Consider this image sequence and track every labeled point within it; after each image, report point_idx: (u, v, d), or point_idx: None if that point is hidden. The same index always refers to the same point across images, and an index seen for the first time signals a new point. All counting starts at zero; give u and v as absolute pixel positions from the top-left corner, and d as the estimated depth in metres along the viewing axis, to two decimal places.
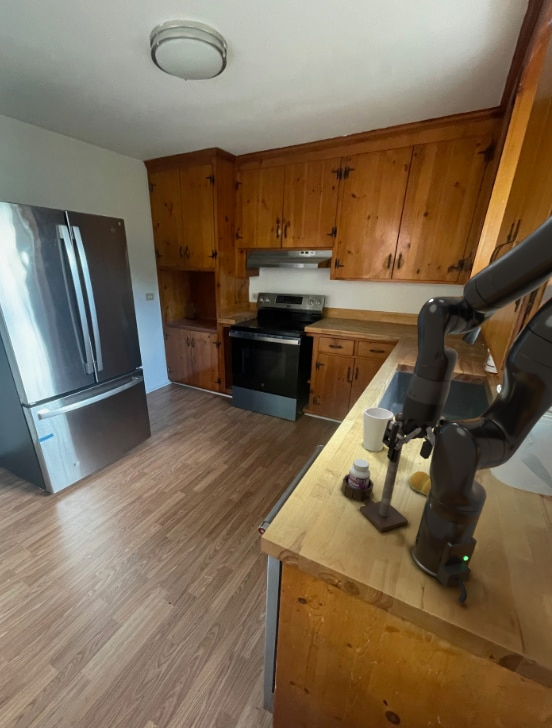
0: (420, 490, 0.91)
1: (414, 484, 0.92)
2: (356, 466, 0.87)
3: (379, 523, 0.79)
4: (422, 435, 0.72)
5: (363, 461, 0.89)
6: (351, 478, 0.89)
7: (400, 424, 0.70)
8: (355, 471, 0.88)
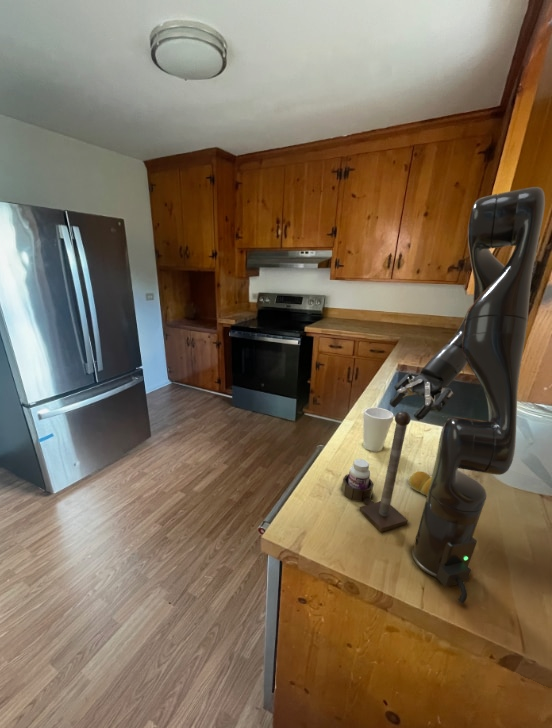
0: (420, 490, 0.91)
1: (414, 484, 0.92)
2: (356, 466, 0.87)
3: (379, 523, 0.79)
4: (422, 391, 0.85)
5: (363, 461, 0.89)
6: (351, 478, 0.89)
7: (413, 377, 0.91)
8: (355, 471, 0.88)
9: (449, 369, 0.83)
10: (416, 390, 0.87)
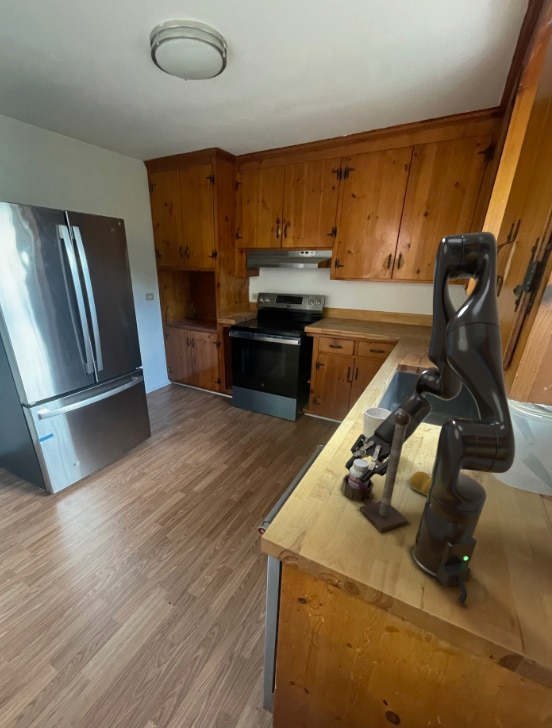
0: (420, 490, 0.91)
1: (414, 484, 0.92)
2: (356, 466, 0.87)
3: (379, 523, 0.79)
4: (373, 454, 0.87)
5: (363, 461, 0.89)
6: (351, 478, 0.89)
7: (366, 438, 0.93)
8: (355, 471, 0.88)
9: None
10: (370, 452, 0.88)
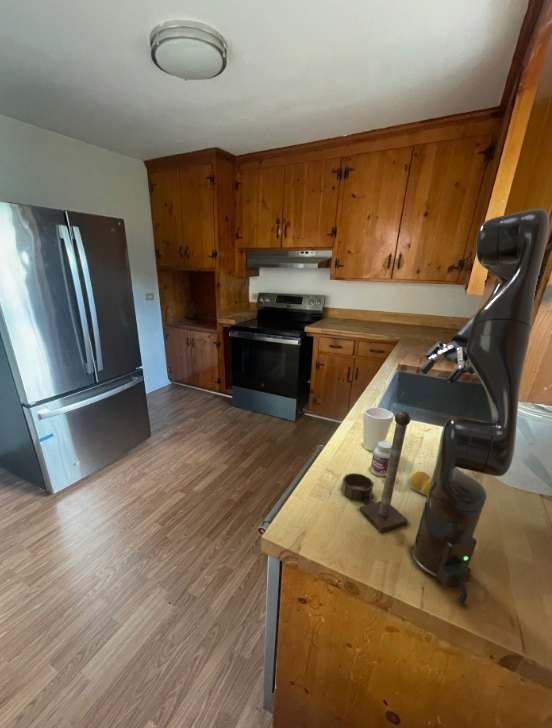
0: (420, 490, 0.91)
1: (414, 484, 0.92)
2: (380, 447, 0.97)
3: (379, 523, 0.79)
4: (454, 356, 0.88)
5: (386, 443, 0.98)
6: (375, 459, 0.98)
7: (444, 345, 0.94)
8: (379, 452, 0.97)
9: None
10: (448, 356, 0.90)
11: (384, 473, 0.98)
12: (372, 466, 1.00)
